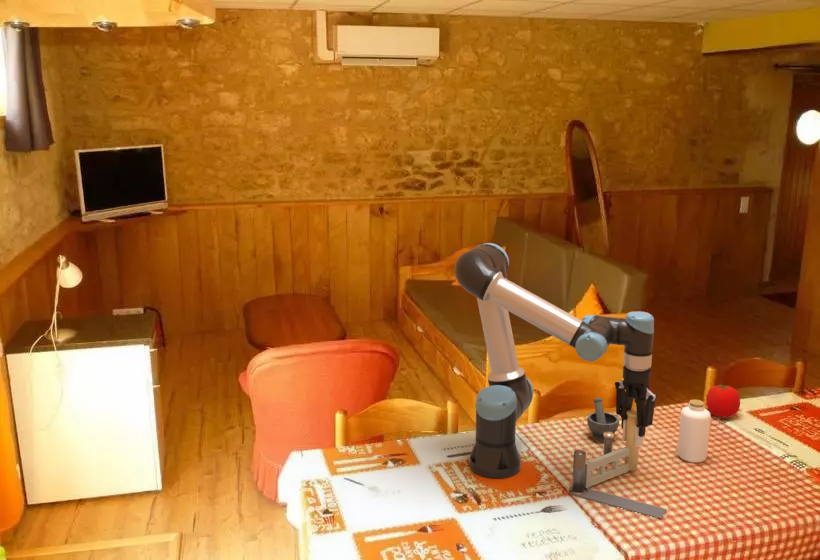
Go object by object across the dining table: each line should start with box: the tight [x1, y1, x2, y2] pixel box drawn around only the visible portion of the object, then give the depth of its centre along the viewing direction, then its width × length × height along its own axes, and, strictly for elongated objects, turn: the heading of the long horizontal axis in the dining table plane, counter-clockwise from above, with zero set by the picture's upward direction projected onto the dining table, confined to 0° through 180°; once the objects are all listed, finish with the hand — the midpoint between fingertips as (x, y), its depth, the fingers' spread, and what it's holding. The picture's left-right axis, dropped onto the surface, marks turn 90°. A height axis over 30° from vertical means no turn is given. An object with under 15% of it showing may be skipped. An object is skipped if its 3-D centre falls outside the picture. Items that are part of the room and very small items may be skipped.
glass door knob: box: [602, 432, 615, 464], centre depth 214 cm, size 4×4×9 cm
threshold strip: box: [571, 487, 667, 520], centre depth 192 cm, size 24×5×1 cm, turn 59°
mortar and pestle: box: [586, 397, 620, 443], centre depth 228 cm, size 11×9×12 cm
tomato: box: [705, 383, 741, 419], centre depth 243 cm, size 10×11×11 cm
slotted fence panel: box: [584, 408, 640, 488], centre depth 202 cm, size 21×4×18 cm, turn 122°
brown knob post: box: [568, 449, 588, 498], centre depth 196 cm, size 5×5×12 cm
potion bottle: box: [677, 399, 712, 464], centre depth 214 cm, size 8×8×18 cm
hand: (632, 442), depth 206 cm, fingers closed on slotted fence panel, 4 cm apart
